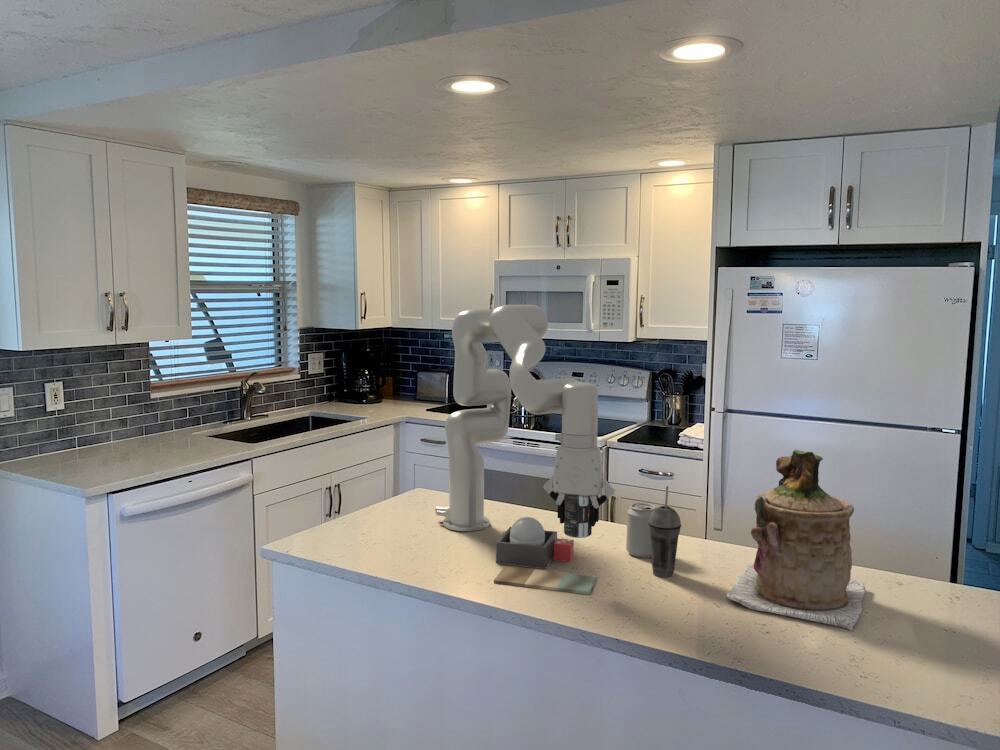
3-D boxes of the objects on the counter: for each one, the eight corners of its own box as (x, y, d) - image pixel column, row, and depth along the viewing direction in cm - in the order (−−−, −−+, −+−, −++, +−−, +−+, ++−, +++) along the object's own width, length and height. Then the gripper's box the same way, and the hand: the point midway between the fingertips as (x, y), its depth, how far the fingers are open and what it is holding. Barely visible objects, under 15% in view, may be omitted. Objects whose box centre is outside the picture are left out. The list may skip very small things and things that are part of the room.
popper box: (495, 563, 172) (496, 542, 172) (509, 546, 184) (510, 526, 183) (565, 571, 168) (565, 549, 167) (575, 553, 179) (575, 533, 178)
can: (648, 561, 174) (650, 511, 173) (620, 554, 179) (621, 506, 177) (662, 552, 180) (664, 504, 179) (634, 546, 185) (636, 499, 183)
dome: (505, 555, 173) (505, 521, 172) (514, 544, 181) (515, 511, 180) (540, 559, 171) (540, 524, 170) (548, 548, 179) (548, 514, 178)
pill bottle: (593, 538, 155) (594, 486, 154) (565, 538, 155) (566, 486, 154) (589, 529, 161) (590, 479, 160) (562, 529, 161) (563, 479, 160)
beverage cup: (642, 576, 165) (645, 489, 163) (651, 565, 171) (654, 481, 169) (674, 582, 161) (678, 493, 159) (683, 571, 168) (686, 485, 166)
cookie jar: (867, 590, 158) (876, 443, 155) (856, 635, 137) (867, 466, 134) (749, 567, 171) (755, 432, 167) (722, 606, 150) (729, 451, 146)
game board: (493, 582, 160) (493, 580, 160) (505, 568, 169) (505, 565, 169) (589, 594, 154) (589, 591, 154) (596, 578, 163) (596, 576, 163)
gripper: (535, 441, 155) (534, 524, 157) (617, 446, 150) (615, 532, 152) (543, 435, 162) (542, 514, 164) (622, 440, 157) (620, 521, 159)
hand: (578, 522), depth 158 cm, fingers closed on pill bottle, 6 cm apart
